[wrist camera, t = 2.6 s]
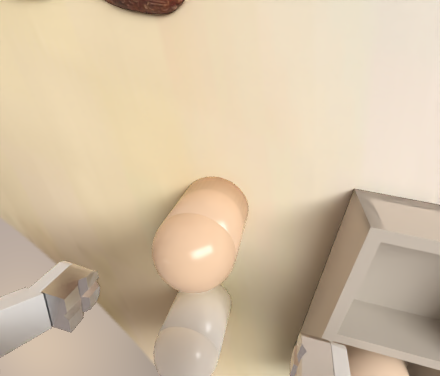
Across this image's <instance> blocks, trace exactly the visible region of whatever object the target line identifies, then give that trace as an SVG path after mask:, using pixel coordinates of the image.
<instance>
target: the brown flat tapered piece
mask: <svg viewBox="0 0 440 376" xmlns="http://www.w3.org/2000/svg"><path fill="white" fill-rule="evenodd" d="M105 1H107V2H108V3H110V4H113V5H115V6H118V7H121V8H124V9H128V10H133V11H139V12H145V13H148V14H168V13H171V12H172V11H175V10H176V9H177V7H178V6H179V5H181V4H182V2H183V1H184V0H105Z"/></svg>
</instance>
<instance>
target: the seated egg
mask: <svg viewBox="0 0 440 376" xmlns="http://www.w3.org/2000/svg"><path fill="white" fill-rule="evenodd" d="M333 342H335V341H333ZM335 343H338V342H335ZM338 344H341V345H345V347H346V349H347V355H348V361H349V368H350V374H351V376H409V373H408V370H407V367H406V364H405V362H404V360H400V359H397V358H393V357H389V356H386V355H382V354H379V353H375V352H371V351H368V350H364V349H360V348H357V347H353V346H349V345H346V344H342V343H338Z"/></svg>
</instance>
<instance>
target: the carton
mask: <svg viewBox="0 0 440 376" xmlns="http://www.w3.org/2000/svg"><path fill="white" fill-rule="evenodd" d="M300 332H301V333H305V334H308V335H312V336H315V337H319V338H322V339H326V340H329V341H331V342H333V341H335V342H338V343H342V344H346V345H349V346H353V347H357V348H360V349H364V350H368V351H371V352H375V353H379V354H382V355H386V356H389V357H393V358H397V359H400V360H404V362H405V364H406V367H407V370H408V373H409V376H440V205H438V204H433V203H427V202H422V201H417V200H412V199H406V198H401V197H396V196H391V195H385V194H380V193H375V192H369V191H364V190H359V189H354V191H353V194H352V196H351V199H350V202H349V204H348V207H347V210H346V212H345V215H344V217H343V220H342V223H341V225H340V228H339V231H338V233H337V236H336V239H335V241H334V244H333V246H332V249H331V252H330V254H329V257H328V260H327V262H326V265H325V268H324V270H323V273H322V276H321V278H320V281H319V283H318V286H317V289H316V291H315V294H314V297H313V299H312V302H311V305H310V307H309V310H308V312H307V315H306V318H305V320H304V323H303V326H302V328H301V331H300ZM295 346H297V341H296V344H295Z"/></svg>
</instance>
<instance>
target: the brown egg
mask: <svg viewBox="0 0 440 376" xmlns="http://www.w3.org/2000/svg"><path fill="white" fill-rule="evenodd" d="M247 216H248V202H247V200H246V197H245V195H244V194H243V192H242V191H241V190H240V189H239V188H238V187H237V186H236V185H235V184H233V183H232V182H230V181H228V180H226V179H223V178H219V177H204V178H201V179H198V180H196V181H195V182H193V183H192V184H191V185H190V186H189V187H188V189H187V190H186V191H185V193H184V194H183V195H182V197H181V198H180V199H179V201H178V202H177V204H176V205H175V206H174V208H173V209H172V210H171V212H170V213H169V214H168V216H167V217H166V218H165V220H164V221H163V222H162V224H161V225H160V227H159V228H158V230H157V232H156V234H155V237H154V240H153V245H152V257H153V262H154V266H155V268H156V270H157V272H158V274H159V275H160V277H161V278H162V279H163V280H164V281H165V282H166V283H167V284H168V285H169V286H171V287H172V288H174V289H176V290H178V291H181V292H184V293H191V294H197V293H203V292H207V291H210V290H212V289H214V288H216V287H217V286H218V285H220V284H221V283H222V282H223V281H224V280H225V279H226V278H227V277H228V276H229V274H230V272H231V271H232V269H233V267H234V264H235V261H236V257H237V253H238V250H239V246H240V242H241V239H242V235H243V231H244V227H245V224H246V220H247Z"/></svg>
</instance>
